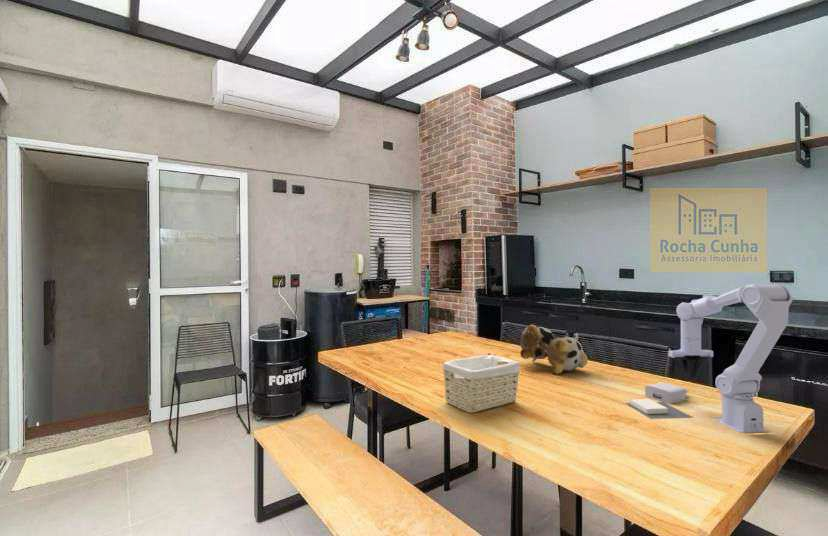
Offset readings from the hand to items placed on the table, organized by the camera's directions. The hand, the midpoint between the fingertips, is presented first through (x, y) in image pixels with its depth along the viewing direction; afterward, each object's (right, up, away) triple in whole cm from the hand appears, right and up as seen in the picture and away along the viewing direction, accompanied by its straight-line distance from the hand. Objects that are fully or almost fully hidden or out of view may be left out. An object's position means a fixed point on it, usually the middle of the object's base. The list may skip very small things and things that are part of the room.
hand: (690, 377), depth 136 cm
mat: (-14, -10, -4) cm, 17 cm away
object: (-70, -11, +6) cm, 71 cm away
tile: (-13, -9, -3) cm, 16 cm away
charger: (-1, -10, +9) cm, 14 cm away
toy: (-30, -10, +51) cm, 60 cm away
